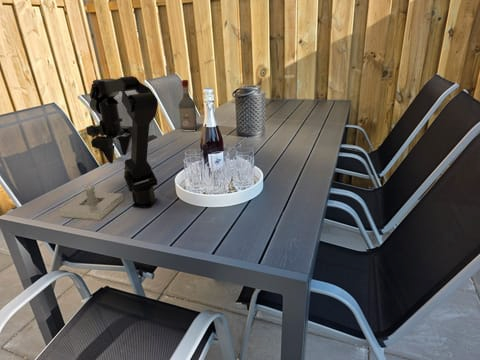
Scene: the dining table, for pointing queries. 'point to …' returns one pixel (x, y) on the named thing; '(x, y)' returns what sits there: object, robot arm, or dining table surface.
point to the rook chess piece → (91, 196)
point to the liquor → (187, 109)
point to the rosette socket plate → (97, 212)
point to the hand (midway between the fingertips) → (118, 158)
